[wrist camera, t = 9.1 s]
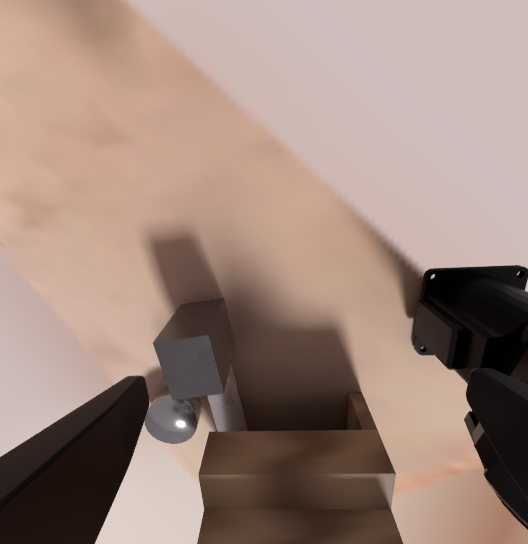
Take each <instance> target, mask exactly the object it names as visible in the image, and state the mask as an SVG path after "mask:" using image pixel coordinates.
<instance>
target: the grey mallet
mask: <svg viewBox="0 0 528 544" xmlns="http://www.w3.org/2000/svg"><path fill="white" fill-rule="evenodd" d="M153 344H154V347H155V350H156V353H157V356H158V359H159V362H160V365H161V368H162V371H163V374H164V377H165V380H166V383H167V386H168V389H169V391H170V394H171V397H172V400H176V399H185V398H193V397H201V396H207V397H208V400H209V404H210V407H211V411H212V414H213V418H214V421H215V424H216V428H217V431H218V432H232V431H248V429H247V425H246V421H245V417H244V413H243V409H242V405H241V401H240V397H239V393H238V389H237V384H236V380H235V376H234V372H233V368H232V364H231V361H232V357H233V352H234V348H235V344H234V340H233V336H232V332H231V328H230V323H229V319H228V315H227V311H226V306H225V302H224V298H223V299H217V300H210V301H203V302H197V303H190V304H183V305H180V307H179V308H178V309H177V311H176V312H175V314H174V315H173V316H172V318H171V319H170V320H169V322H168V323H167V324H166V326H165V327H164V329H163V330H162V331H161V333H160V334H159V335H158V337H157V338H156V339H155V341H154V342H153Z"/></svg>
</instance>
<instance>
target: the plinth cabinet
mask: <svg viewBox="0 0 528 544" xmlns="http://www.w3.org/2000/svg"><path fill="white" fill-rule="evenodd" d="M395 475H396V473H395V471H394V469H393V466H392V464H391V461H390V459H389V457H388V454H387V452H386V449H385V447H384V445H383V442H382V440H381V437H380V435H379V433H378V430H377V428H376V425H375V423H374V421H373V418H372V416H371V413H370V411H369V409H368V406H367V404H366V401H365V399H364V397H363V394H362V392H357V393H349V403H348V421H347V430H310V431H232V432H209V435H208V439H207V443H206V447H205V451H204V455H203V459H202V463H201V467H200V471H199V481H200V487H201V492H202V498H203V504H204V514H203V519H202V524H201V528H200V533H199V538H198V543H197V544H403V542H402V539H401V536H400V533H399V531H398V528H397V525H396V522H395V520H394V517H393V514H392V512H391V505H392V497H393V490H394V482H395Z"/></svg>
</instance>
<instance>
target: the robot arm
mask: <svg viewBox="0 0 528 544" xmlns="http://www.w3.org/2000/svg"><path fill="white" fill-rule="evenodd" d="M519 271H520V273H519V275H517V273H518V272H519ZM433 274H435V277H434V278H433V279H431V276H432V275H433ZM527 280H528V269H527V268H525V267H522V266H518V265H516V266H490V267H489V266H488V267H462V268H436V269H429V270H427V271H426V272H425V273H424V277H423V284H422V292H421V299H420V300H419V301H418V305H417V313H416V320H415V328H414V333H415V334H416V336H415V344H414V349H415V350H416V352H417V353H418V354H420V355H435V356H436V357H437V358H438V359H439V360H440V361H441V362H442V363H443V364H444V365H445V366H446V367H447V368H448V369H449V370H455V371H456V372H457V373H458V374H459V375H460V376H461V377H462V378H463V379H464V380H465V381H466V382H467V384H468V386H467V390H466V398H467V401H468V403H469V405H470V407H471V409H472V412H471V411H469V412H468V414H467V415H466V417H465V418H464V421H465V423H466V426H467V428H468V430H469V433H470V435H471V438H472V440H473V442H474V447H475V448H476V450H477V452H478V455H479V457H480V459H481V462H482V464H483V467H484V469H485V471H484V476H485V478H486V480H487V482H488V484H489V485H490V486H491V487H492V488H493V489H494V491H495V493H496V494H497V495H498V497H499V499H500V500H501V501H502V503H503V505H504V506H505V507H506V508H507V509H508V510H509V511H510V512H511V513H512V514H513V516H514V517H515V518H516V519H517V520H518V521H519V522H520V523H521V524H522V525H523V526H525V528H527V529H528V292H526V291H525V287H526V283H527ZM423 346H425V347H424V348H423V349H421V347H423ZM148 408H149V395H148V390H147V386H146V381H145V378H144V377H143V376H128V377H126V378H124V379H123V380H121V381H120V382H118V383H116V384H115V385H113V386H112V387H110V388H108V389H107V390H105V391H104V392H102V393H101V394H99V395H97V396H96V397H94V398H93V399H91V400H90V401H88V402H87V403H85V404H83V405H82V406H80V407H79V408H77V409H75V410H74V411H72V412H71V413H69V414H67V415H66V416H64V417H63V418H61V419H60V420H58V421H56V422H55V423H53V424H52V425H50V426H49V427H47V428H45V429H44V430H42V431H41V432H39V433H38V434H36V435H34V436H33V437H31V438H30V439H28V440H27V441H25V442H23V443H22V444H20V445H19V446H17V447H15V448H14V449H12V450H11V451H9V452H8V453H6V454H4V455H3V456H1V457H0V544H95V542H96V539H97V537H98V535H99V532H100V530H101V528H102V526H103V524H104V521H105V519H106V517H107V514H108V512H109V510H110V508H111V506H112V503H113V501H114V499H115V497H116V494H117V492H118V490H119V487H120V485H121V483H122V480H123V478H124V476H125V474H126V471H127V469H128V467H129V464H130V461H131V459H132V456H133V453H134V449H135V447H136V444H137V441H138V438H139V435H140V432H141V429H142V426H143V423H144V420H145V417H146V414H147V411H148Z"/></svg>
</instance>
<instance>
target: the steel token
mask: <svg viewBox="0 0 528 544" xmlns="http://www.w3.org/2000/svg"><path fill="white" fill-rule="evenodd" d="M201 411H202V403H201V401H200V399H199V397H193V398H185V399H176V400H172V397H171V394H170V391H169V389H168V387H166V388H164V389H162V390H160V391H159V392H158V393H157V395H156V397H155V398H154V400H153V402H152V404H151V406H150V408H149V410H148V411H147V414H146V417H145V426H146V428H147V430H148V432H149V433H150V434H151V435H152V436H153V437H155V438H156V439H158V440H160V441H162V442H165V443H171V444H177V443H182V442H185V441H187V440H189V439H190V438H191V437H192V436H193V435H194V433H195V431H196V428H197V424H198V421H199V418H200V415H201Z"/></svg>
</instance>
